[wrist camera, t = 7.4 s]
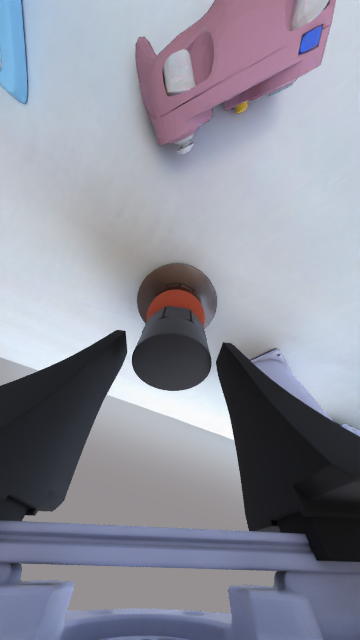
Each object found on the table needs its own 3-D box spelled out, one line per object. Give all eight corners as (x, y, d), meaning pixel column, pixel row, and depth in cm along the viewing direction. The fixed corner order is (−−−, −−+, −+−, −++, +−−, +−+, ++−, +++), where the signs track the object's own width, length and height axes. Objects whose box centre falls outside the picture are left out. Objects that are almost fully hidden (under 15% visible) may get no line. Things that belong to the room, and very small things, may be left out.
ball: (210, 311, 17) (223, 340, 12) (173, 335, 19) (169, 369, 13) (181, 272, 15) (181, 285, 9) (142, 303, 16) (124, 329, 11)
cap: (213, 336, 12) (226, 372, 9) (170, 360, 14) (166, 399, 10) (180, 293, 10) (178, 317, 7) (134, 326, 12) (114, 360, 8)
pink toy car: (158, 158, 12) (162, 169, 8) (129, 53, 9) (110, -22, 5) (272, 102, 11) (346, 80, 7) (295, -57, 7) (492, -321, 3)
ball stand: (229, 311, 18) (234, 318, 16) (171, 346, 21) (170, 355, 19) (185, 242, 14) (185, 242, 12) (122, 297, 17) (116, 303, 15)
